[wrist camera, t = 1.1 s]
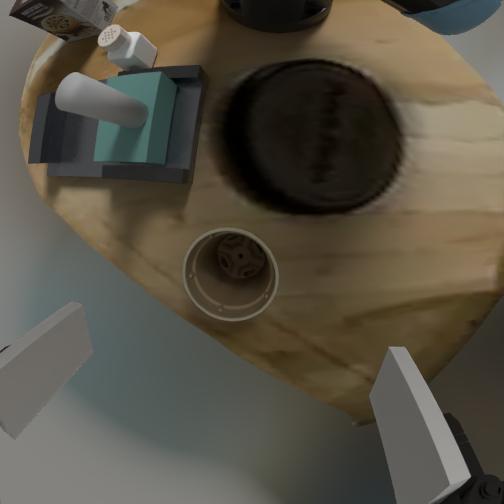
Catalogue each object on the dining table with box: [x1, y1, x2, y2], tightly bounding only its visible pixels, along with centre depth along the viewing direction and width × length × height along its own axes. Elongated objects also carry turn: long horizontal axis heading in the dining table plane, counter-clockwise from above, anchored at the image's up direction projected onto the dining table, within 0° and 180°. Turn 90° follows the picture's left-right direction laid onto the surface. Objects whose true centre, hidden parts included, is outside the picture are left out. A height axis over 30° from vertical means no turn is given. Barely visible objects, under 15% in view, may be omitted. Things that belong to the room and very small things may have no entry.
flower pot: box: [182, 227, 279, 321], centre depth 31 cm, size 9×9×9 cm
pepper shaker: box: [98, 24, 157, 71], centre depth 25 cm, size 4×4×10 cm
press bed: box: [28, 65, 208, 183], centre depth 29 cm, size 14×24×6 cm, turn 82°
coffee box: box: [9, 0, 118, 42], centre depth 20 cm, size 9×6×16 cm
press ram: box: [55, 72, 177, 164], centre depth 22 cm, size 10×7×16 cm
